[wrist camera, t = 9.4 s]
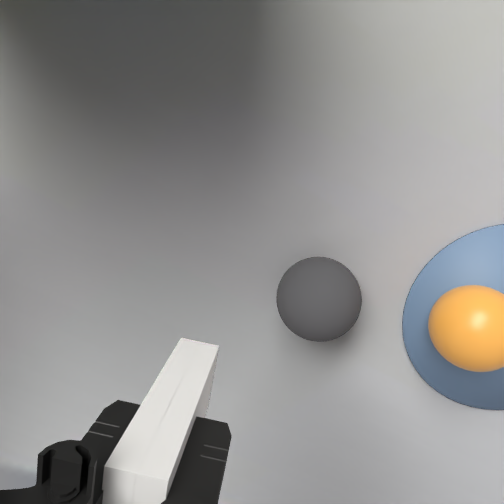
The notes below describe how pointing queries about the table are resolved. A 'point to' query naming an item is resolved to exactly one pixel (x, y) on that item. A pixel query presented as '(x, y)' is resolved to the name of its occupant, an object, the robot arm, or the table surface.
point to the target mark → (430, 290)
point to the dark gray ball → (319, 299)
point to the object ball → (469, 327)
